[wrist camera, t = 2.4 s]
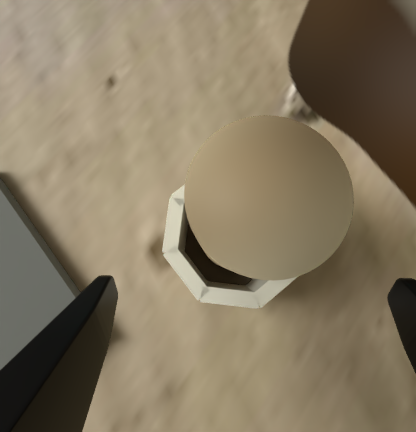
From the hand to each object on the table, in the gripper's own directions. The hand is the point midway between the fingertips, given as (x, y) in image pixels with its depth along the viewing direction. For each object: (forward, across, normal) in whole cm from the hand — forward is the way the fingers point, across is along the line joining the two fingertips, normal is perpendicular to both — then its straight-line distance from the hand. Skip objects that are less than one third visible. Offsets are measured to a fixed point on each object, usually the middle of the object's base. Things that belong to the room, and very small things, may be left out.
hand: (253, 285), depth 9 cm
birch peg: (+8, 0, +5) cm, 10 cm away
